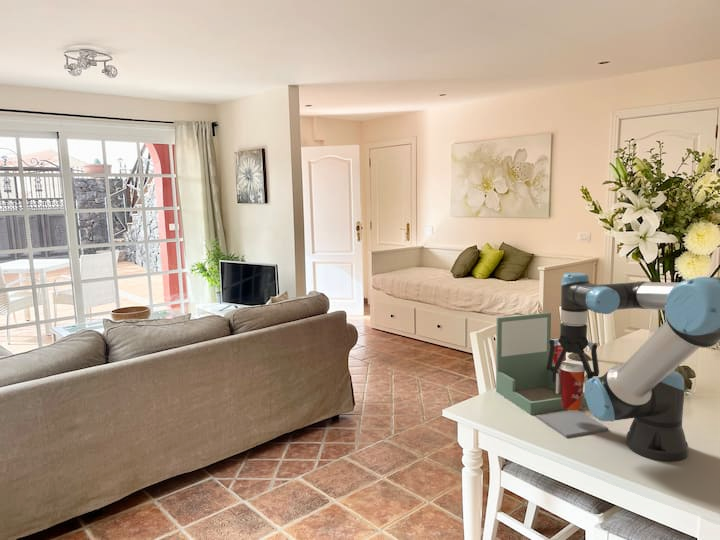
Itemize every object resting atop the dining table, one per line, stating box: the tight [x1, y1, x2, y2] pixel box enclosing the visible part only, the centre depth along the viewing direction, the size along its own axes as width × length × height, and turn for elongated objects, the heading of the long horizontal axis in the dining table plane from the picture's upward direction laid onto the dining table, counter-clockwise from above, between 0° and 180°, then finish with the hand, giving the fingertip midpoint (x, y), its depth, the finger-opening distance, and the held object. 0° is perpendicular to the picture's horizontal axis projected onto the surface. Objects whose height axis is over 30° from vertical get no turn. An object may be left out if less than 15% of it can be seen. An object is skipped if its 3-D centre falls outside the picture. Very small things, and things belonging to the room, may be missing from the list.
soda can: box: [552, 343, 567, 370], centre depth 207 cm, size 7×7×13 cm
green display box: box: [495, 312, 588, 416], centre depth 182 cm, size 22×22×28 cm
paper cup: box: [559, 360, 586, 411], centre depth 161 cm, size 8×8×14 cm
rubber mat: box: [535, 409, 609, 438], centre depth 163 cm, size 15×15×1 cm
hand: (571, 394), depth 161 cm, fingers closed on paper cup, 8 cm apart
